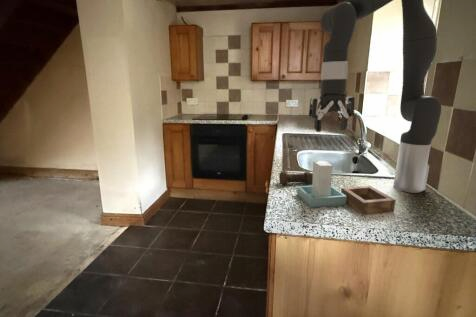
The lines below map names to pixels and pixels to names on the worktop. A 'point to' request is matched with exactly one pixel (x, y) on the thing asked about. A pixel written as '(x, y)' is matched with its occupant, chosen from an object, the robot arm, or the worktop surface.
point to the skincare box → (321, 179)
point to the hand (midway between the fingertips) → (330, 130)
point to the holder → (367, 207)
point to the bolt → (295, 178)
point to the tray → (312, 202)
